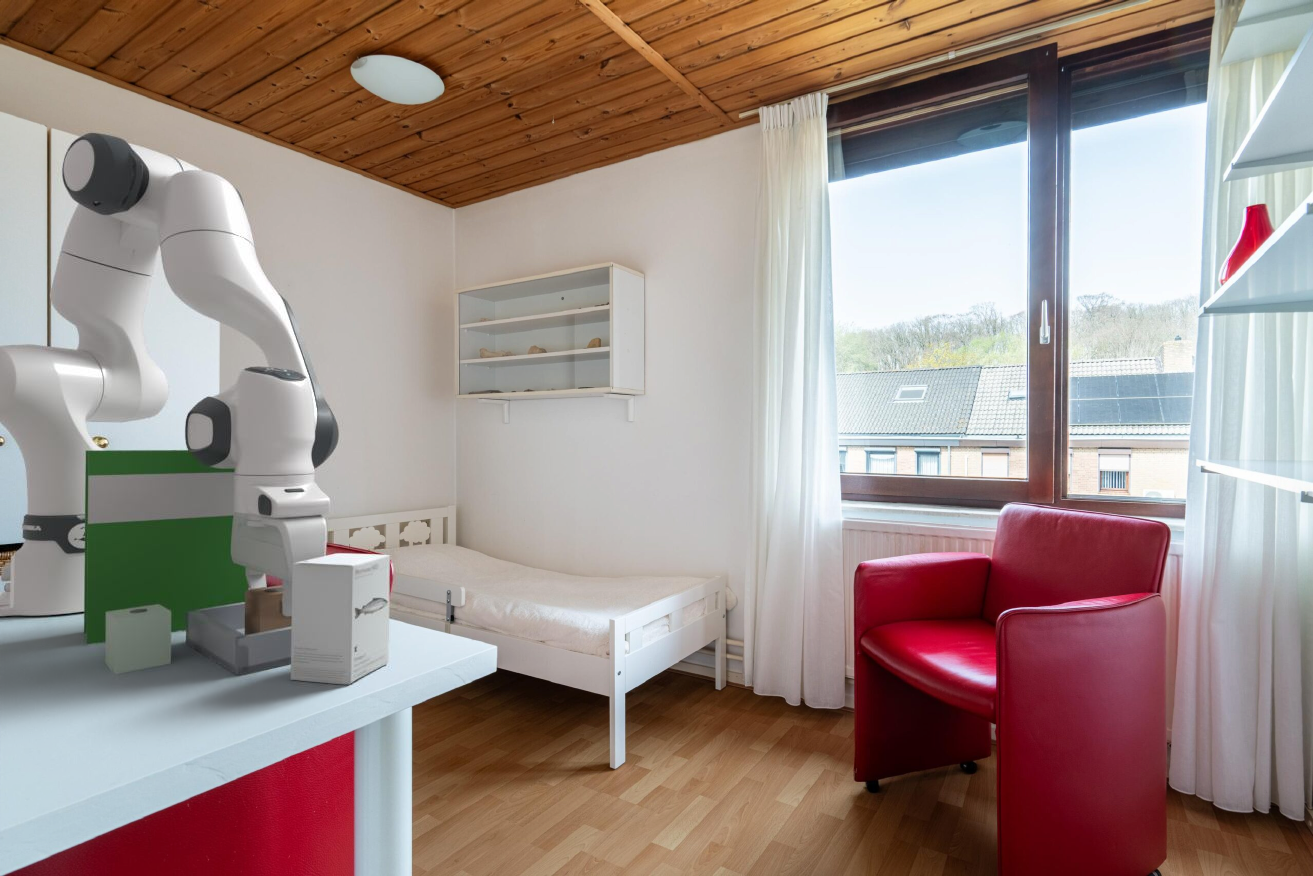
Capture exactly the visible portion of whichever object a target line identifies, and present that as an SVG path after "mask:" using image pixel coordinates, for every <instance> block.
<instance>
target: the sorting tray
mask: <svg viewBox="0 0 1313 876" xmlns="http://www.w3.org/2000/svg"><path fill="white" fill-rule="evenodd" d="M291 627H292V626H291ZM291 627H286V628H280V629H275V630H270V631H265V632H259V633H254V634H249V635H245V602H242V603H236V604H229V605H223V606H216V607H210V608H204V609H197V610H191V611H186V630H185V644H186V645H187V646H189V647H191V648H193V649H195V650H196V651H198V652H199V653H201V654H203V655H204V656H206V657H207V658H208V659H210V660H212V661H214V662H215V663H216V664H219V665H220V666H221V667H223V668H225V669H226V670H229V672H231V673H233V674H234V675H236V676H239V677H240V676H244V675H248V674H252V673H256V672H260V671H265V670H270V669H275V668H278V667H282V666H287V665H291Z"/></svg>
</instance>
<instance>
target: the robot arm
mask: <svg viewBox="0 0 1313 876" xmlns="http://www.w3.org/2000/svg"><path fill="white" fill-rule="evenodd" d="M61 168H62V170H61V171H62V172H61V177H62V182H63V184H64V188H65V189H66V191H67V193H68V195H69V196H70V197H71V199H72V200H73V201H74V202H76V203H77V205H76V208H75V210H74V212H73V214H72V216H71V219H70V221H69V223H68V226H67V227H66V232H65V234H64V237H63V241H62V245H61V248H60V251H59V255H58V259H57V265H56V268H55V272H54V277H53V281H52V284H51V288H50V293H49V298H50V299H49V300H50V303H51V305H52V306H53V308H54V310H55V311H56V312H57V313H58V314H59V315H60V316H61V317H62V318H63V319H65V320H66V321H67V322H69V323H70V324H72V325H74V326H75V327H76V329H77V334H78V346H77V349H73V348H72V349H71V348H65V347H56V346H48V345H47V346H46V345H37V344H29V343H28V344H10V345H9V344H7V345H0V424H1V425H2V426H3V427H4V428H5V429H6V430H7V431H8V433H9V434H10V435H11V437H12V438H13V440H14V441H15V443H16V445H17V446H18V449H19V450H20V452H21V455H22V459H23V462H24V466H25V475H26V489H27V490H26V492H27V514H24V516H23V521H22V522H23V523H22V524H21V529H22V538H23V539H24V542H23V544H22V546H21V547H20V548H19V549H18V550H17V551H15V553H14V554H13V555H11V556H10V562H5V563H4V564H5V565H3V566H1V567H0V568H1V572H0V579H1V580H0V581H1V582H5V583H4V588H3V589H4V592H2V593H1V594H0V617H7V616H9V617H10V616H52V615H62V614H63V615H64V614H65V615H66V614H73V613H81V612H84V572H85V466H86V450H106V449H105V448H104V447H103V448H102V447H101V446H99V445H97V444H96V443H95V441H94V440H93V439H92V437H91V435H90V434H89V430H88V427H87V422H88V423H90V422H91V423H127V422H134V421H140V420H144V419H150V418H153V417H155V416H157V415H158V414H159V413H160V412H161V411H162V410H163V409H164V407H165V405H166V404H167V402H168V399H169V394H170V393H169V392H170V388H169V387H170V386H169V381H168V379H167V376H166V375H165V373H164V371H163V370H162V368H160V366H158V365H157V364H156V363H155V362H154V360H153V358H152V357H151V356H150V354H149V352H148V349H147V346H146V342H145V337H144V327H143V326H144V316H145V311H146V306H147V305H146V304H147V299H148V296H149V291H150V290H149V289H150V287H151V283H152V278H153V275H154V269H155V265H156V260H157V255H158V250H159V248H160V256H161V263H162V269H163V273H164V276H165V279H166V281H167V284H168V287H169V288H170V290H171V291H172V293H173V294H174V295H175V296H176V297H177V298H178V299H179V300H180V301H181V302H183V304H185V305H186V306H187V307H188V308H190V309H192V310H193V311H195V312H197V313H198V314H201V315H202V316H205V317H207V318H210V319H212V320H215V321H216V322H218V323H221V324H223V325H226V326H227V327H230V328H231V329H233V330H235V331H237V332H239V333H240V334H242V335H243V336H245V337H247V338H249V339H250V340H251V341H252V342H254V344H255V345H256V346H258V347H259V348H260V350H261V352H262V353H263V354H264V355H263V356H264V357H265V360H266V362H267V365H268V367H267V366H248V367H247V368H243V369H242V370H240V371H239V374H238V376H237V378H236V379H237V380H236V382H235V383H234V384H233V385H232V386H230V387H229V388H227V389H226V390H224V391H222V392H220V393H217V394H216V395H213V396H206V397H204V398H203V399H201V400H200V401H199V402H197V403H196V404H195V405H193V407H192V408H191V409H190V411H189V412H188V413H187V415H186V418H185V425H184V426H185V428H184V439H185V445H186V448H187V449H186V450H189V452H190V453H191V454H192V455H193V456H194V457H195V458H196V459H197V460H198V461H199V462H200V463H202V464H203V465H205V466H207V467H209V466H210V467H214V468H221V469H235V471H234V509H233V511H234V512H235V513H234V516H233V523H232V535H231V557H232V561H233V563H235V564H238V565H241V566H244V567H246V571H245V575H246V578H247V582H248V585H249V590H253V589H260V588H267V577H266V575H268V576H271V577H274V578H277V579H280V580H281V585H282V588H284V592H283V598H282V600H279V606H280V609H279V612H280V614H282V615H284V616H287V617H288V616H292V565H293V563H297V562H301V561H305V560H309V559H314V558H318V557H323V556H327V542H328V541H327V535H328V534H327V532H328V531H327V529H328V528H327V521H326V519H325V517H324V516H325V515H329V514H330V512H331V499H330V497H329V496H328V495H327V494H326V493H325V492H324V491H322V490H321V489H320V487H319V486H318V483H317V482H315V478H316V477H315V472H316V471H315V469H317V468H318V467H320V466H322V464H324V463H325V462H326V461H327V460H328V459H329V458H330V456H331V455H332V454H333V453H334V451H335V449H336V448H337V445H338V443H339V435H340V432H339V431H340V430H339V426H338V422H337V419H336V417H335V415H334V412H333V410H332V409H331V407H330V405H329V403H328V402H327V401H326V398H325V396H324V394H323V392H322V390H321V387H320V385H319V381H318V379H317V376H316V375H317V374H316V373H315V370H314V367H313V364H312V361H311V359H310V355H309V353H308V349H307V346H306V344H305V342H304V341H305V340H304V338H303V336H302V333H301V330H300V327H299V324H298V322H297V319H296V316H295V313H294V312H293V310H292V308H291V305H290V304H289V303H288V301H287V300H286V298H285V297H284V296H282V295H281V294H280V293H279V292H277V290H276V289H275V288H274V287H273V285H272V283H271V282H270V281H269V280H268V277H267V276H266V275H265V273H264V271H263V269H262V267H261V264H260V262H259V259H258V256H257V253H256V248H255V247H256V246H255V242H254V238H253V233H252V229H251V225H250V223H249V219H248V215H247V213H246V210H245V206H244V205H245V204H244V199H243V197H242V195H241V193H240V191H239V190H238V189H237V188H236V187H235V186H234V185H233V184H231V182H229V181H228V180H227V179H225V178H224V177H222V176H221V175H218V174H216V173H213V172H210V171H205V170H203V169H201V168H200V167H198V166H196V165H193V164H191V163H189V162H187V161H185V160H183V159H180V158H178V157H176V156H174V155H170V154H165V153H161V152H159V151H157V150H154V149H150V148H147V147H144V146H142V145H141V146H140V145H137V144H134V143H130V142H127V141H126V140H125V139H123V138H121V137H118V136H114V135H109V134H104V133H100V132H99V133H97V132H87V133H85V134H83V135H81V136H80V137H78V138H76V139H75V140H74V141H72V142H71V144H70V145H69V147H68V148H67V151H66V152H65V154H64V159H63V162H62V167H61Z"/></svg>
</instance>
